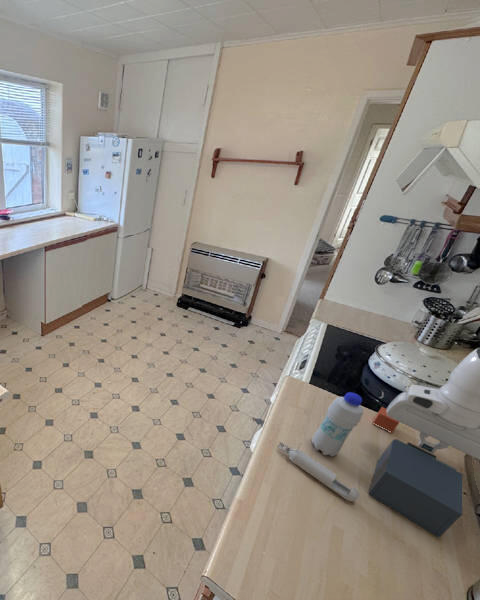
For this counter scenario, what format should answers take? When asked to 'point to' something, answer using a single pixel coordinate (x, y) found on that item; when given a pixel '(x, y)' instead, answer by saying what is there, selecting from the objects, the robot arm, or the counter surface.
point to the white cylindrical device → (320, 472)
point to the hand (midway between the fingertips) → (425, 448)
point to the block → (385, 420)
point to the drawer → (424, 452)
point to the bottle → (338, 424)
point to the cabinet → (418, 488)
